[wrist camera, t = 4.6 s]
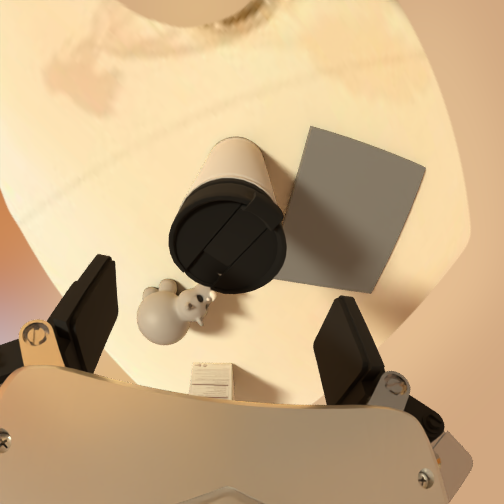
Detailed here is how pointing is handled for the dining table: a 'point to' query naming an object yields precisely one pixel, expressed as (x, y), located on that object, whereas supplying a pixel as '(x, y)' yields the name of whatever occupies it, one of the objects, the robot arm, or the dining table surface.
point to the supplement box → (212, 380)
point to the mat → (346, 212)
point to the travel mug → (230, 222)
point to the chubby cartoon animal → (172, 311)
